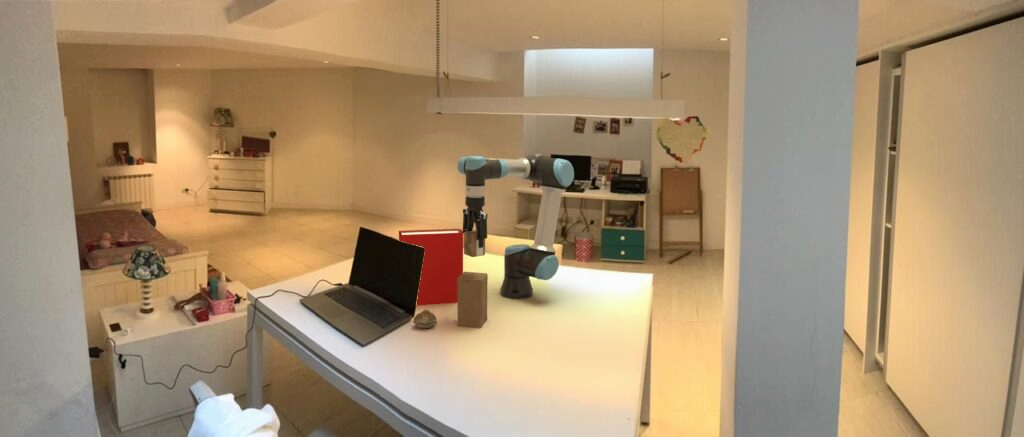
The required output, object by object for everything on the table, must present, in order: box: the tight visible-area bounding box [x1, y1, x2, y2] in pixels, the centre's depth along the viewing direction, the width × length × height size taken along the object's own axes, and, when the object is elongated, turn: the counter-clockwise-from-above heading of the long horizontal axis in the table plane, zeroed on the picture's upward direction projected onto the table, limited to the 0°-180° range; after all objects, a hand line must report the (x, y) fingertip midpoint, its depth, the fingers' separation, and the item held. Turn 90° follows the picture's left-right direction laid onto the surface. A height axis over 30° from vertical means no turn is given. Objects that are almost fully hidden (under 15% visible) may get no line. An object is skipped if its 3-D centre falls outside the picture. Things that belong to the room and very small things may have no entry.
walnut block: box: [463, 229, 486, 258], centre depth 247 cm, size 6×6×9 cm
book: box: [398, 228, 464, 307], centre depth 275 cm, size 27×8×32 cm, turn 104°
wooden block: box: [457, 271, 489, 329], centre depth 252 cm, size 10×10×20 cm
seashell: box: [412, 309, 438, 329], centre depth 248 cm, size 9×7×8 cm
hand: (474, 253), depth 248 cm, fingers closed on walnut block, 6 cm apart
